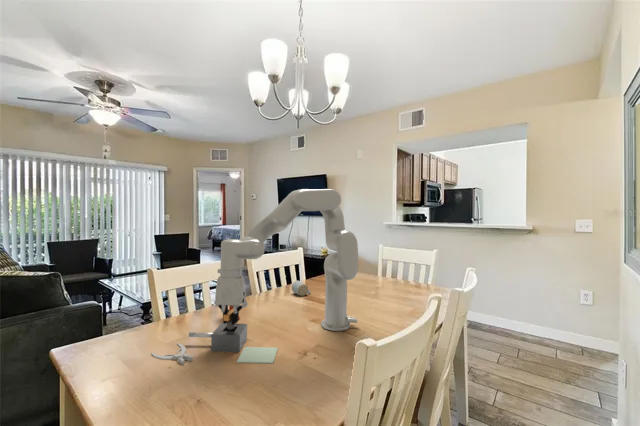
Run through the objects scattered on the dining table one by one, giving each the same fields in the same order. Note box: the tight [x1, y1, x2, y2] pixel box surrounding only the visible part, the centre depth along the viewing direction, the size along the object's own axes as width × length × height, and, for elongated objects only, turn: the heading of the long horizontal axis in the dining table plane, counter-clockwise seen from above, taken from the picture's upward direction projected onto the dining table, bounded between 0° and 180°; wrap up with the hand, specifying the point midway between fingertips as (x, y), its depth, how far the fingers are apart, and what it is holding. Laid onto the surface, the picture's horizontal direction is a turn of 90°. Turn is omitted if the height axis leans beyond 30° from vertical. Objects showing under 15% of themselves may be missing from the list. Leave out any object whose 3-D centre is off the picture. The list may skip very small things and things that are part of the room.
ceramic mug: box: [291, 280, 311, 297], centre depth 171 cm, size 11×8×8 cm
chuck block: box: [188, 322, 248, 353], centre depth 106 cm, size 20×10×6 cm, turn 90°
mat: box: [236, 346, 279, 365], centre depth 99 cm, size 12×10×1 cm
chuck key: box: [222, 309, 236, 332], centre depth 106 cm, size 3×7×10 cm, turn 170°
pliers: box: [151, 342, 194, 366], centre depth 98 cm, size 10×2×15 cm
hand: (230, 322), depth 106 cm, fingers closed on chuck key, 2 cm apart
